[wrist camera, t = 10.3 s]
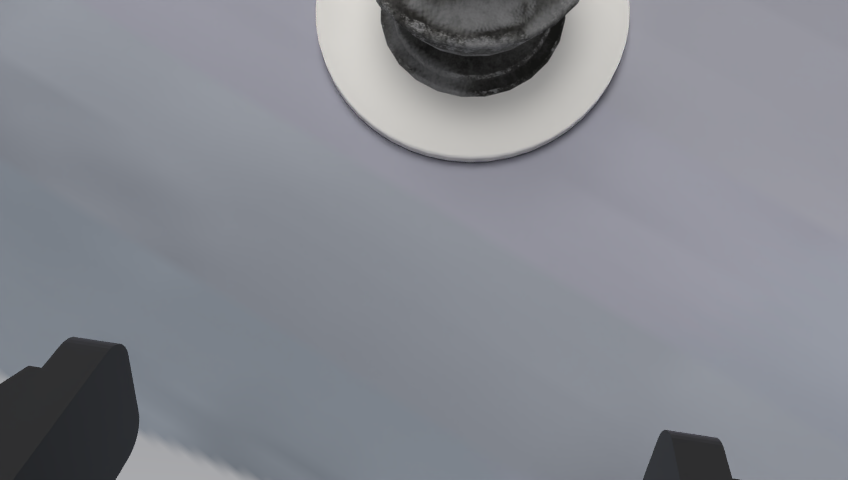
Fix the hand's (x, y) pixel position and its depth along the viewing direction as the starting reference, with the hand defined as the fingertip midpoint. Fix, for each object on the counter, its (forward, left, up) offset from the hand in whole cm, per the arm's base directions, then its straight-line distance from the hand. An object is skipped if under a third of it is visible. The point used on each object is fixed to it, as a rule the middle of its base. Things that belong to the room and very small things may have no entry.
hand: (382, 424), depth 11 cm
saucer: (0, +12, -8) cm, 14 cm away
